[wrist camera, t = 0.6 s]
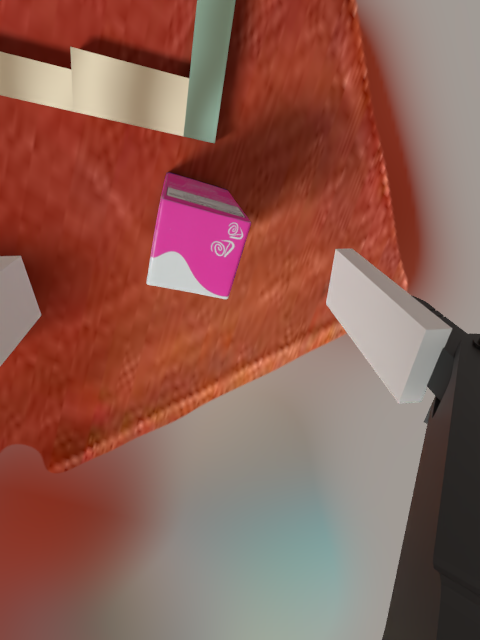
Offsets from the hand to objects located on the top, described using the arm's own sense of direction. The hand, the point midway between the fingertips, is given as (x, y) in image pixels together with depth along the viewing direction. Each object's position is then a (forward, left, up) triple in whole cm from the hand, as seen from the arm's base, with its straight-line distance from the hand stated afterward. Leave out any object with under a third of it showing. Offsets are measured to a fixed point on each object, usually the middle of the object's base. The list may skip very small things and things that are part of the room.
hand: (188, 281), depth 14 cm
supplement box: (+1, -1, -18) cm, 18 cm away
